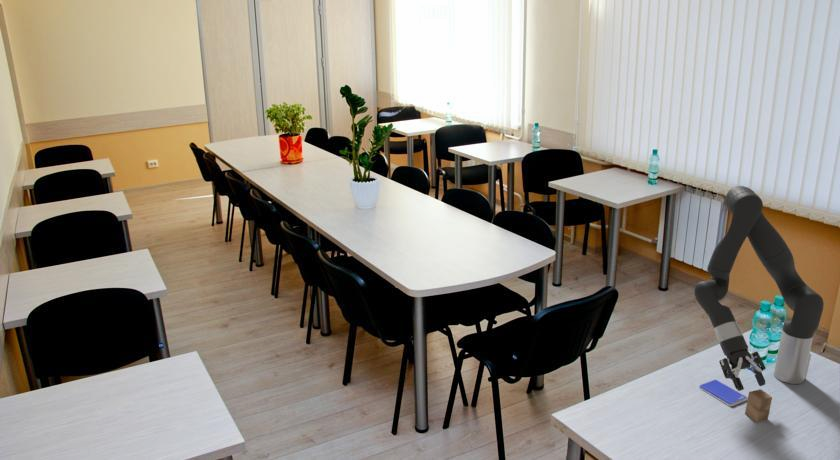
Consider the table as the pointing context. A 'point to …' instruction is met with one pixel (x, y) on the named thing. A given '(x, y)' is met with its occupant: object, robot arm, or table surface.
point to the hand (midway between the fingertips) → (752, 387)
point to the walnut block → (758, 405)
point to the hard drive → (723, 392)
